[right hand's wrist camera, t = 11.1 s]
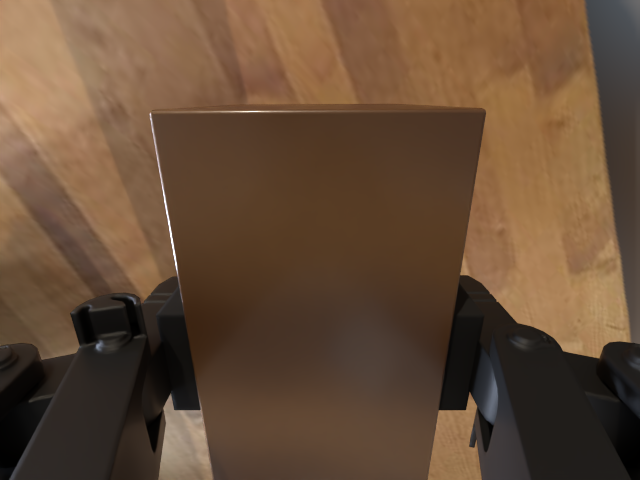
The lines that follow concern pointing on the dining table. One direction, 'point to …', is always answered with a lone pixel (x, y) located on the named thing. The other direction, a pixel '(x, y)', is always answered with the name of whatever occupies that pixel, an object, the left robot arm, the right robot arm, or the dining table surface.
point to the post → (318, 278)
